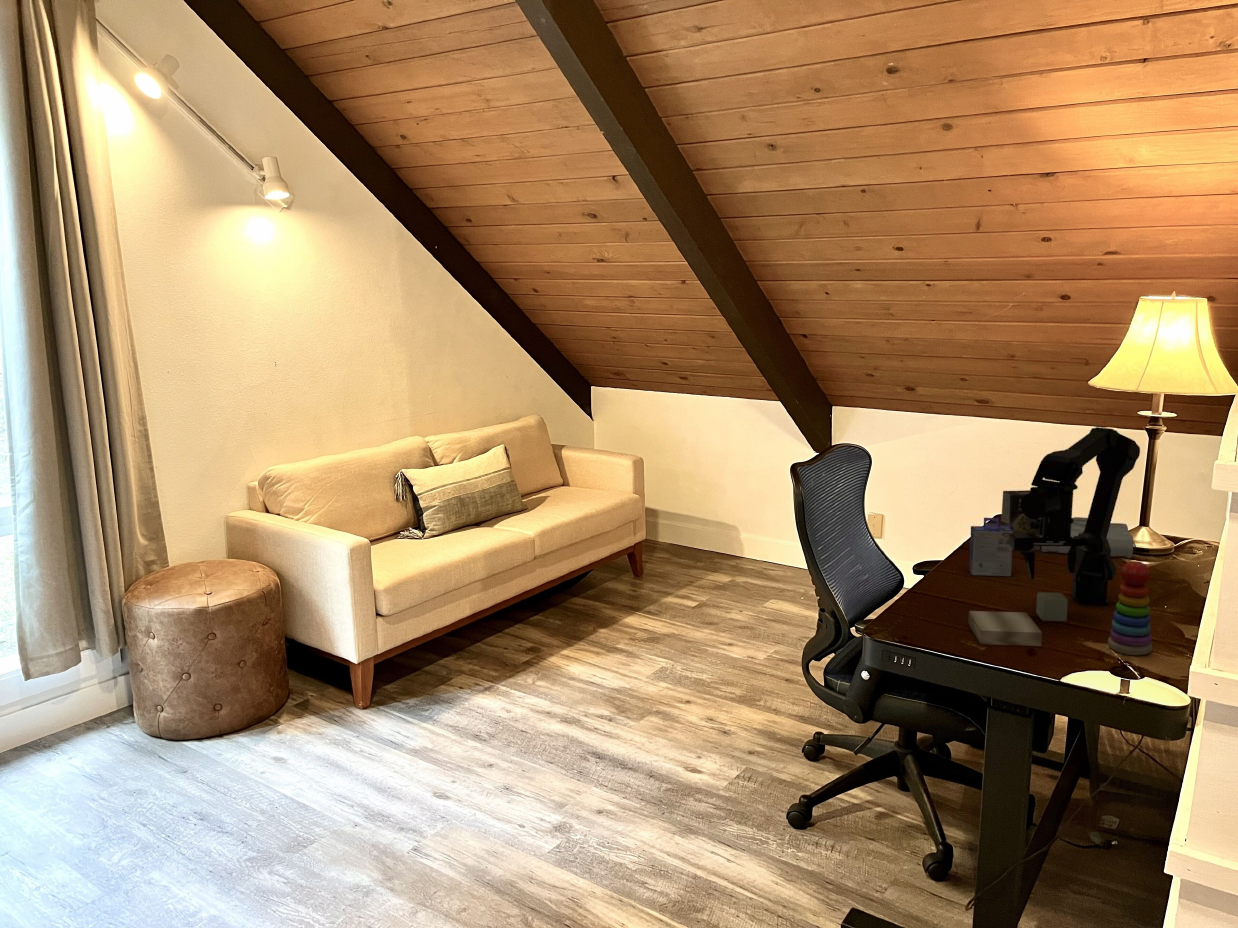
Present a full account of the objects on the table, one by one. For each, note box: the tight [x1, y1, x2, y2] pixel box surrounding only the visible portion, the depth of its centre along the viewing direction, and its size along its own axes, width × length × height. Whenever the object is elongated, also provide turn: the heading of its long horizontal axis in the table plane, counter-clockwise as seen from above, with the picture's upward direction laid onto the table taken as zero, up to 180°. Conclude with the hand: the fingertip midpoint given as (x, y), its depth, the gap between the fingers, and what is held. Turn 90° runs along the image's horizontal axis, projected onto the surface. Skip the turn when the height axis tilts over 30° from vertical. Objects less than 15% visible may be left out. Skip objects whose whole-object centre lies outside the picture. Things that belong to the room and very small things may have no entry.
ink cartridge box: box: [969, 517, 1013, 577], centre depth 237 cm, size 10×6×14 cm, turn 78°
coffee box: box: [1000, 489, 1041, 551], centre depth 259 cm, size 9×6×16 cm
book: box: [1040, 516, 1137, 559], centre depth 257 cm, size 19×28×8 cm
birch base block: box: [968, 610, 1043, 647], centre depth 196 cm, size 12×12×3 cm
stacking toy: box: [1107, 560, 1153, 656], centre depth 185 cm, size 8×8×19 cm
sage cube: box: [1035, 591, 1069, 622], centre depth 206 cm, size 5×5×5 cm
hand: (1053, 579), depth 204 cm, fingers open, 9 cm apart
